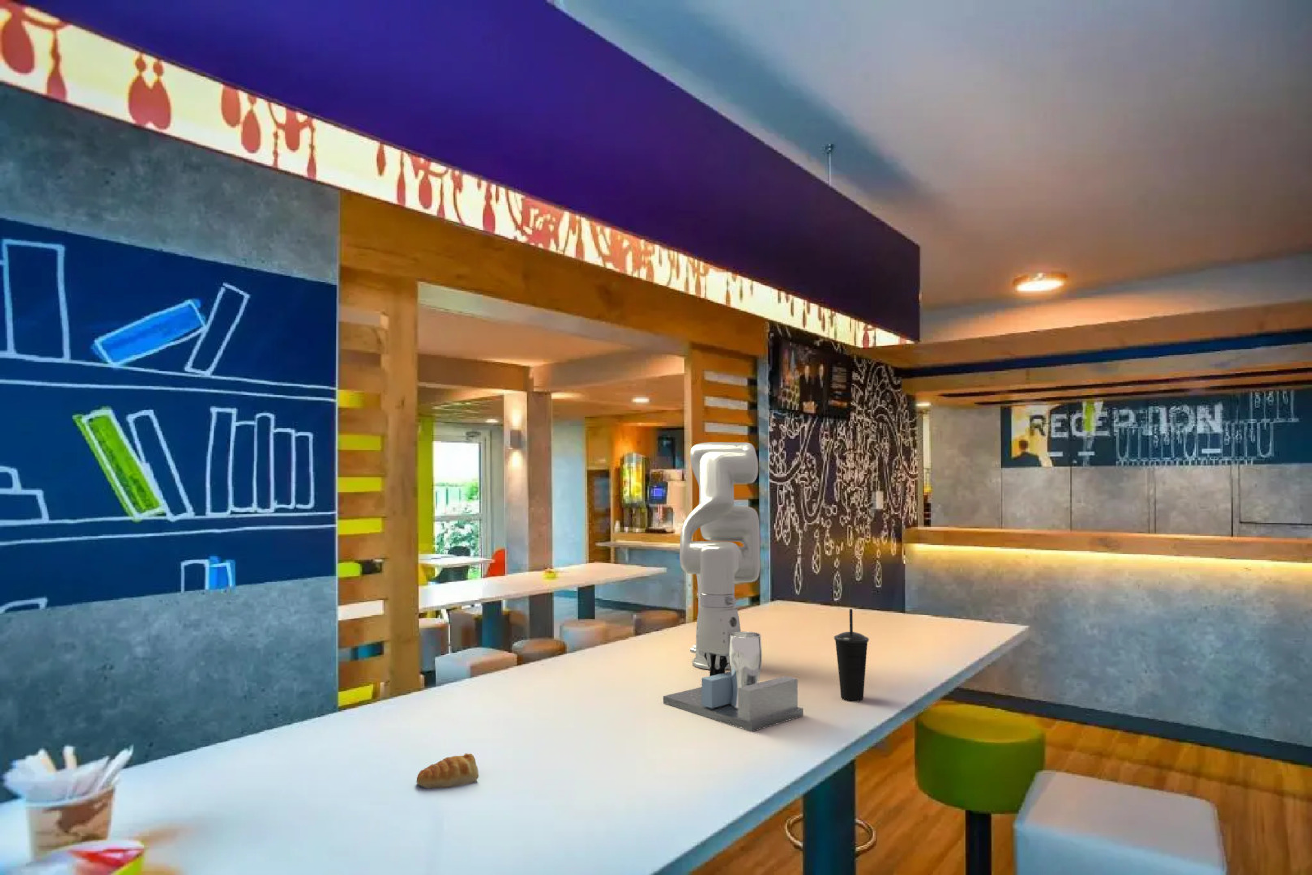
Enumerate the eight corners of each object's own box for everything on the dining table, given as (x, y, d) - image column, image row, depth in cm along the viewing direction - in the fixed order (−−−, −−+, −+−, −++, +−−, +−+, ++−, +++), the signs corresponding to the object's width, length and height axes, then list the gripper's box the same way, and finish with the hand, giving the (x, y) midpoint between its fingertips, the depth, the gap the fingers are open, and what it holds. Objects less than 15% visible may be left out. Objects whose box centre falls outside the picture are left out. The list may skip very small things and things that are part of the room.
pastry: (423, 795, 117) (423, 770, 118) (411, 781, 123) (411, 757, 123) (481, 782, 123) (482, 758, 123) (467, 770, 128) (467, 746, 128)
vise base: (663, 702, 168) (663, 668, 168) (714, 690, 178) (714, 658, 179) (751, 731, 148) (751, 692, 149) (803, 715, 159) (802, 679, 159)
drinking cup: (866, 694, 175) (865, 606, 177) (872, 703, 168) (871, 612, 169) (832, 693, 176) (831, 606, 178) (837, 702, 169) (836, 611, 170)
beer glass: (724, 709, 158) (724, 635, 159) (734, 700, 165) (734, 630, 166) (757, 712, 156) (757, 638, 157) (765, 704, 162) (765, 632, 163)
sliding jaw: (701, 705, 160) (701, 677, 160) (747, 693, 169) (747, 667, 170) (711, 708, 158) (711, 680, 158) (757, 696, 167) (757, 670, 168)
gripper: (754, 603, 165) (754, 689, 163) (705, 596, 176) (705, 676, 175) (730, 606, 160) (730, 696, 159) (681, 598, 171) (681, 682, 170)
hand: (717, 685), depth 167 cm, fingers closed
